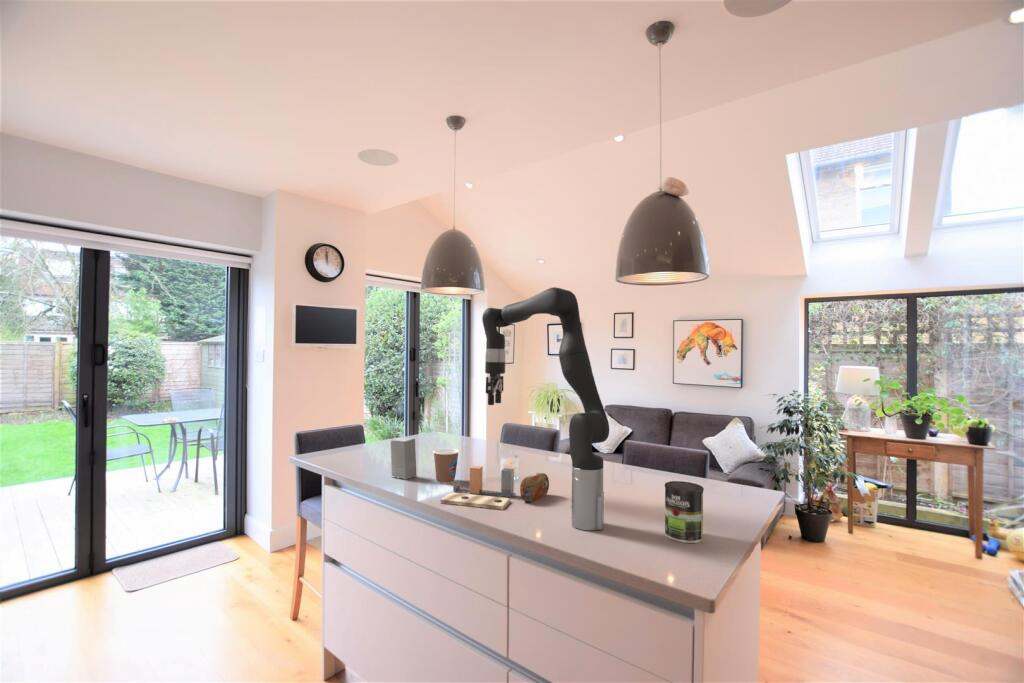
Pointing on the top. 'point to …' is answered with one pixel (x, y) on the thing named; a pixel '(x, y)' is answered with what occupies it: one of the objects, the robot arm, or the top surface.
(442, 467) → the coffee cup
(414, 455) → the skincare box
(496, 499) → the hole board
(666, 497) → the coffee can
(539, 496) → the brown rounded flat piece
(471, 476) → the block
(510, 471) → the dividers rail
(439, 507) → the top surface
